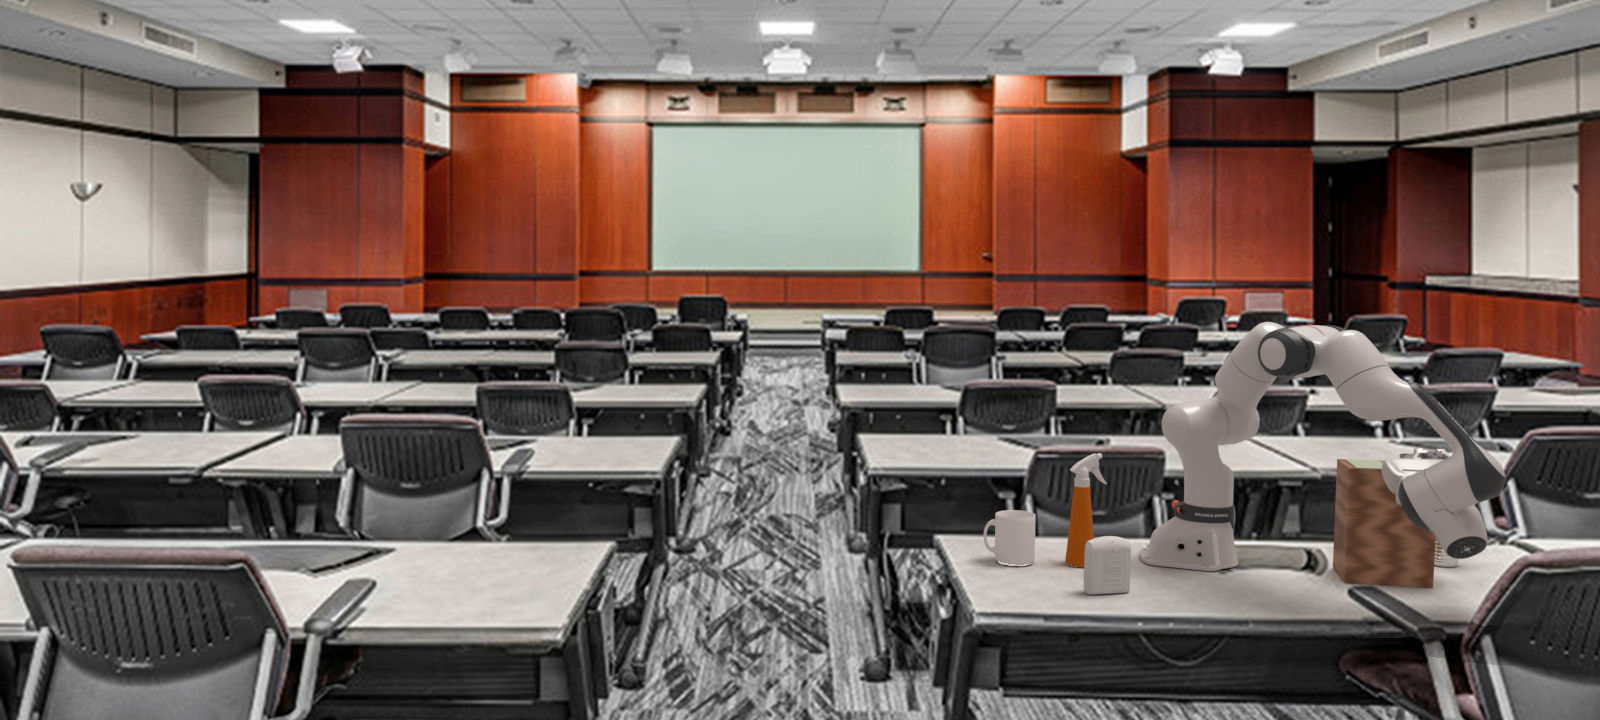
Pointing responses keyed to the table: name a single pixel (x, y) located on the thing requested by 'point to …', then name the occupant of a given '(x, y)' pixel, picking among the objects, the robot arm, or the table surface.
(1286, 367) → the robot arm
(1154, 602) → the table surface
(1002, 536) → the mug
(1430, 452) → the grooved metal rail
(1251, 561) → the table surface
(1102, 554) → the photo printer
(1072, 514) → the spray bottle
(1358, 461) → the pad
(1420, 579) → the stand
